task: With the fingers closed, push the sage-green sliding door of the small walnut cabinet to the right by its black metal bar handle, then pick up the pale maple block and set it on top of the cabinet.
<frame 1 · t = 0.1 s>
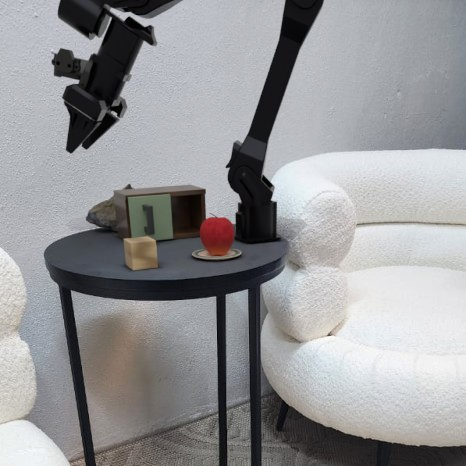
hand: (76, 150, 118), 15 cm above the table, tool tilted 35°, fingers open, 9 cm apart
apple: (216, 257, 112), on the table
cabinet: (162, 236, 128), on the table
sliding door: (153, 219, 120), point 4 cm above the table, slide at 0.0 cm
block: (141, 266, 106), on the table
rock: (114, 230, 136), on the table
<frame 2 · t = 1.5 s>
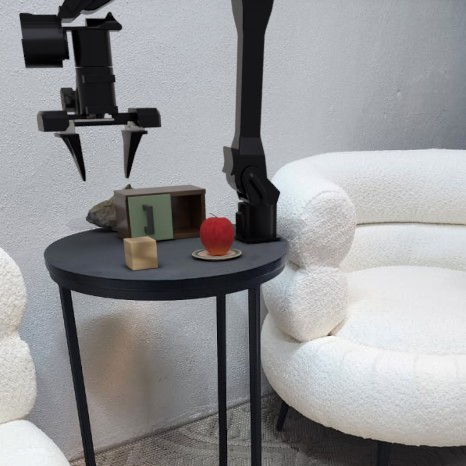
hand: (105, 179, 113), 11 cm above the table, tool pointing down, fingers open, 7 cm apart
nothing on the table moved.
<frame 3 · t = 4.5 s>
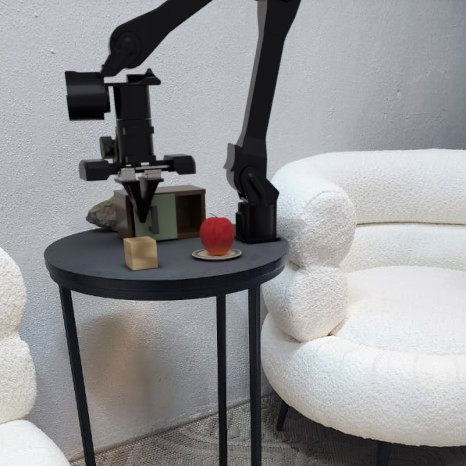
hand: (142, 222, 118), 4 cm above the table, tool pointing down, fingers closed
sliding door: (158, 219, 120), point 4 cm above the table, slide at 0.8 cm, touching gripper
everything else where it was.
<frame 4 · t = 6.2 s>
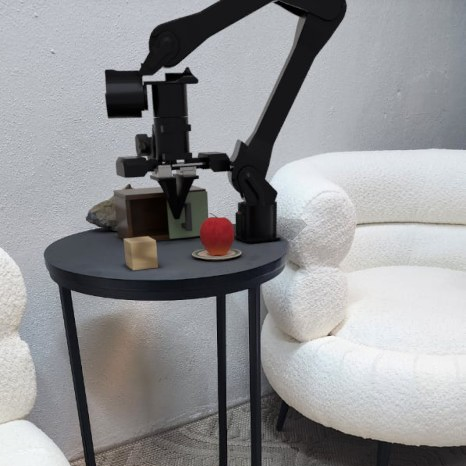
hand: (176, 219, 120), 4 cm above the table, tool pointing down, fingers closed
sliding door: (191, 216, 122), point 4 cm above the table, slide at 7.0 cm, touching gripper
everything else where it was.
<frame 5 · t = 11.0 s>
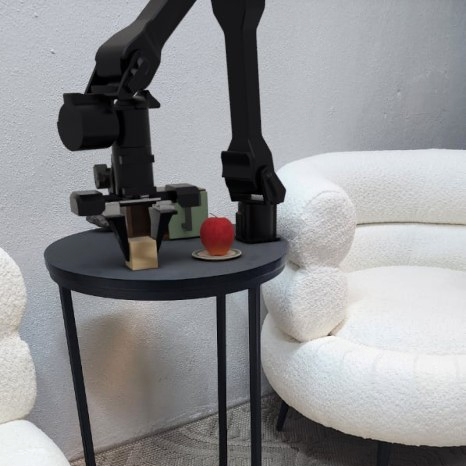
hand: (141, 259, 106), 1 cm above the table, tool pointing down, fingers closed on block, 4 cm apart
sliding door: (191, 216, 122), point 4 cm above the table, slide at 7.0 cm
block: (141, 266, 106), on the table, touching gripper
everything else where it was.
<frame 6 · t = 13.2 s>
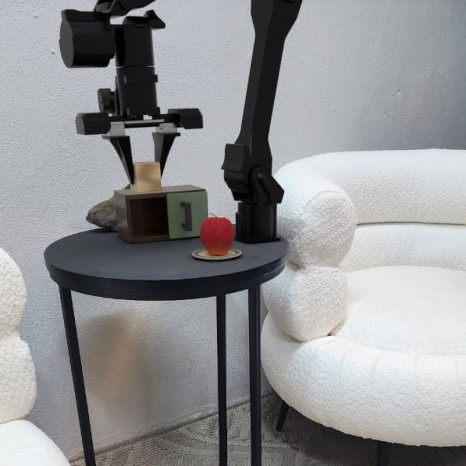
hand: (145, 183, 109), 11 cm above the table, tool pointing down, fingers closed on block, 4 cm apart
block: (145, 190, 109), point 10 cm above the table, touching gripper
everything else where it was.
when the fingers open (9 cm above the table, at t = 15.5 s): block stays where it is, resting on cabinet.
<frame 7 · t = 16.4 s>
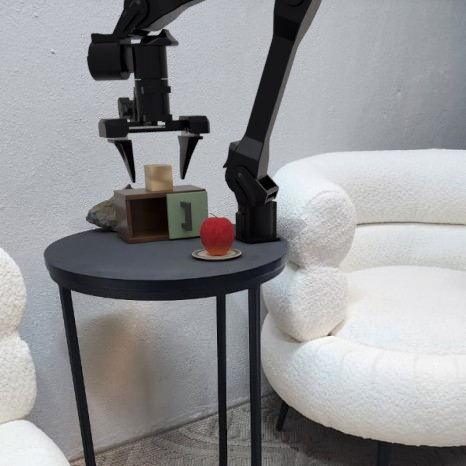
hand: (158, 181, 123), 9 cm above the table, tool pointing down, fingers open, 9 cm apart
block: (159, 189, 124), point 8 cm above the table, touching cabinet
everything else where it was.
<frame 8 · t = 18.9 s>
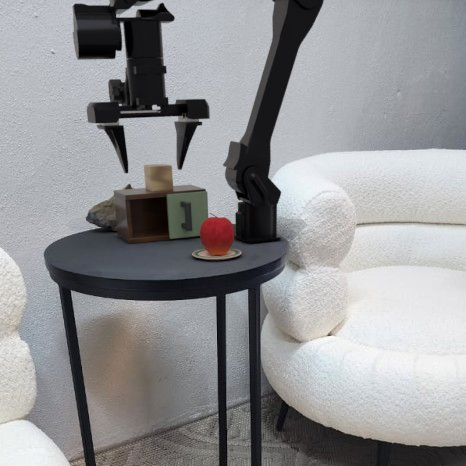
hand: (153, 171, 113), 12 cm above the table, tool pointing down, fingers open, 9 cm apart
nothing on the table moved.
at the end: sliding door slide at 7.0 cm; block inside the target area on the cabinet (0.0 cm from its centre), point 8.0 cm above the cabinet's base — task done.
